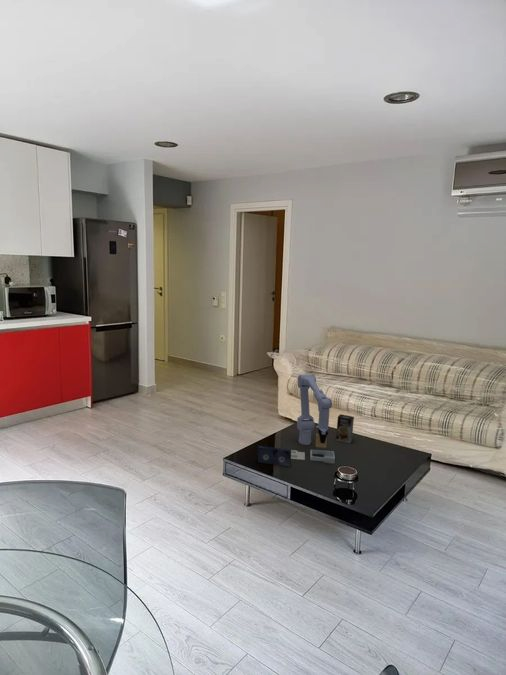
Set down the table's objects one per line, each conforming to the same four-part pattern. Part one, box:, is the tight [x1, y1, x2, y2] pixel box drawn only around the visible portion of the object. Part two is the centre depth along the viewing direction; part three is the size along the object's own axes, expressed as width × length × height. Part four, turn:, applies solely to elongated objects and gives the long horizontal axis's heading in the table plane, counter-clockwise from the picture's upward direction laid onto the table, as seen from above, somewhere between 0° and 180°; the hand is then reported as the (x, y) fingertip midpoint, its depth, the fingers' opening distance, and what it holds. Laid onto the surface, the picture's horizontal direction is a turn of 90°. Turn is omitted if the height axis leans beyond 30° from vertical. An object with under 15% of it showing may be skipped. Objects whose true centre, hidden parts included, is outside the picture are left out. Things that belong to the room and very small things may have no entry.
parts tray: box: [309, 449, 336, 465], centre depth 260 cm, size 10×14×3 cm
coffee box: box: [335, 413, 355, 444], centre depth 287 cm, size 9×6×16 cm
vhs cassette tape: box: [257, 445, 292, 468], centre depth 250 cm, size 18×3×10 cm, turn 74°
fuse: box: [315, 432, 328, 449], centre depth 259 cm, size 3×6×7 cm, turn 84°
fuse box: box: [290, 449, 306, 461], centre depth 262 cm, size 10×18×2 cm, turn 84°
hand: (322, 441), depth 259 cm, fingers closed on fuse, 3 cm apart
